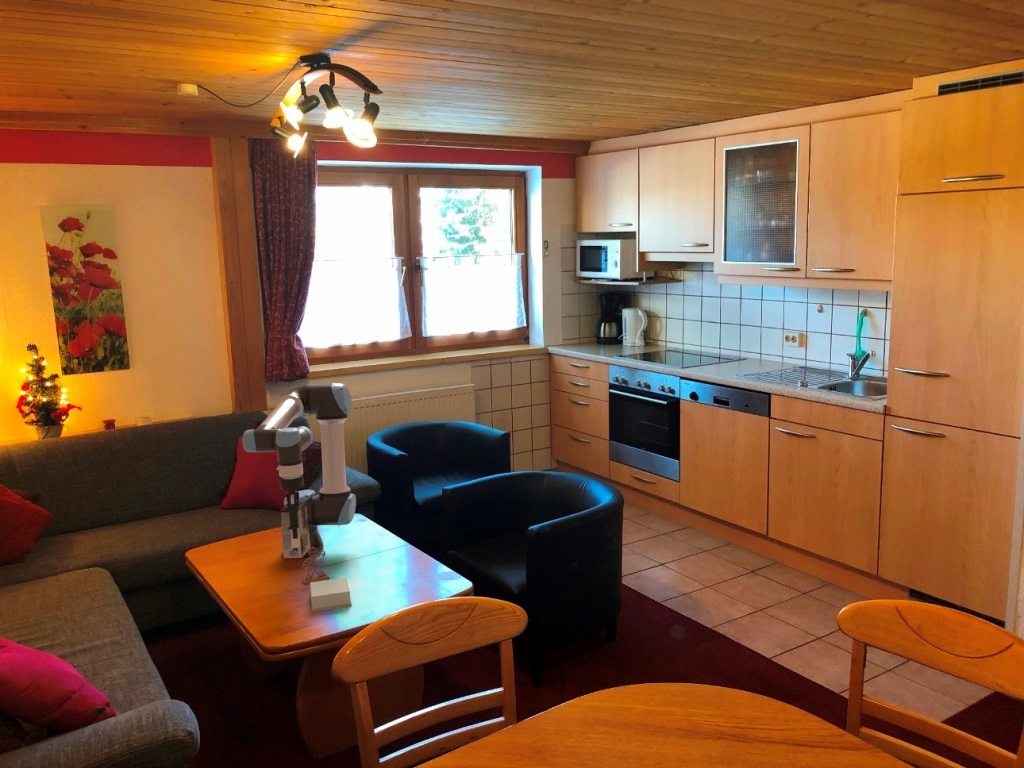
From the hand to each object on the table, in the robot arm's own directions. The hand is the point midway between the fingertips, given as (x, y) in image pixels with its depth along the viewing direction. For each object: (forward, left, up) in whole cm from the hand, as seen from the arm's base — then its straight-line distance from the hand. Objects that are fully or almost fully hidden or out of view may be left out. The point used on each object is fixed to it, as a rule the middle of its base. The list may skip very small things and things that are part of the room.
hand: (296, 541), depth 267 cm
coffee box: (0, 0, -4) cm, 4 cm away
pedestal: (+4, +9, -20) cm, 23 cm away
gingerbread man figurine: (-16, +5, -20) cm, 26 cm away
